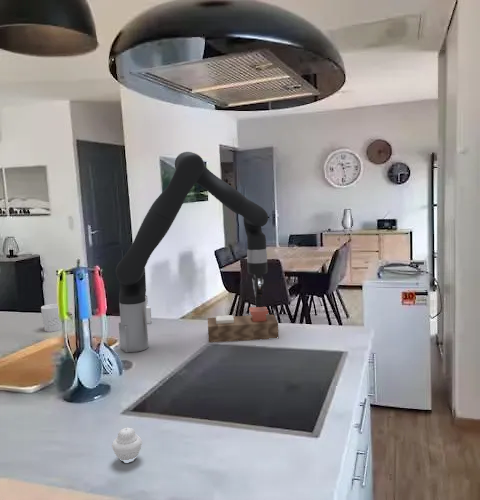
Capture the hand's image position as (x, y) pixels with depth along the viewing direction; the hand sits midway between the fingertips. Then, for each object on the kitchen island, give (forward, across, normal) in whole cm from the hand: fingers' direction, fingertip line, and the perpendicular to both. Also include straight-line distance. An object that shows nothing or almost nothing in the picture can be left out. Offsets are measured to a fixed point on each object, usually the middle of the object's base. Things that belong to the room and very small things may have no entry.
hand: (258, 305), depth 182 cm
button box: (+11, 0, +7) cm, 13 cm away
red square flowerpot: (+7, 0, 0) cm, 7 cm away
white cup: (+11, +22, +84) cm, 88 cm away
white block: (+10, 0, +13) cm, 16 cm away
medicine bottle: (+11, +26, +48) cm, 56 cm away
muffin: (+12, -80, +38) cm, 89 cm away
